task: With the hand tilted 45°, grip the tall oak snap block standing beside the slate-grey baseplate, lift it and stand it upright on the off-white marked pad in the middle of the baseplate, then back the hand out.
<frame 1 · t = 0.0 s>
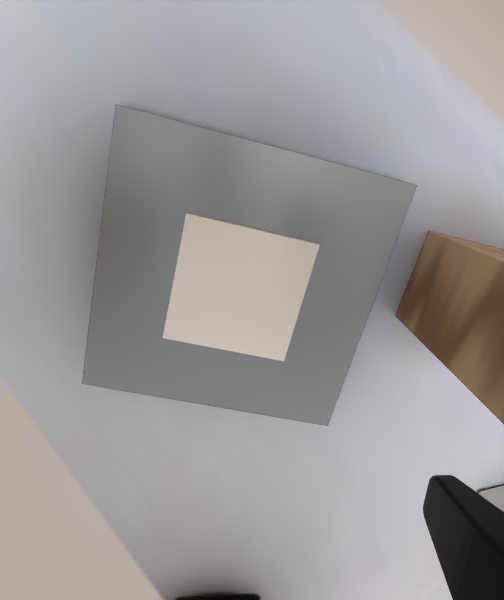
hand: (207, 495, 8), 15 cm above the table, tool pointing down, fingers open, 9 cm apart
oak block: (452, 284, 23), on the table
baseplate: (237, 281, 22), on the table
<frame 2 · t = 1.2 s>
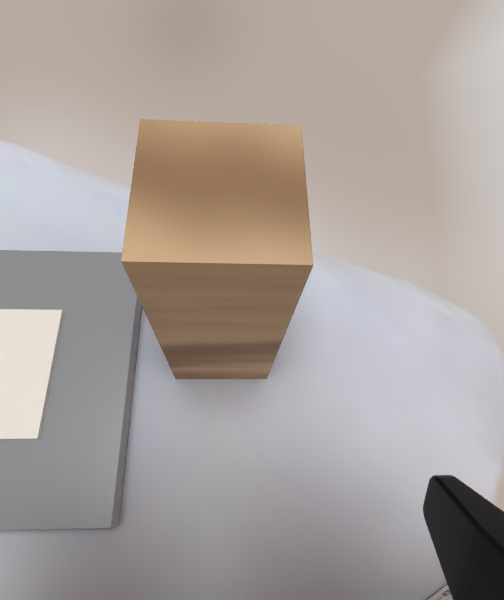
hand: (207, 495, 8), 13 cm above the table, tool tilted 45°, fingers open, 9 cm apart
oak block: (222, 335, 23), on the table
baseplate: (1, 378, 22), on the table
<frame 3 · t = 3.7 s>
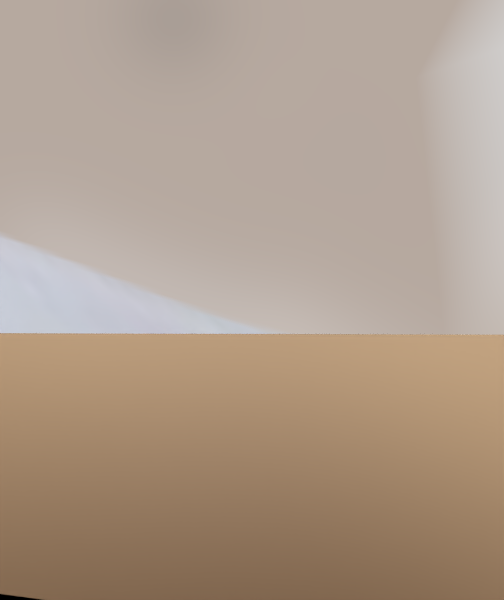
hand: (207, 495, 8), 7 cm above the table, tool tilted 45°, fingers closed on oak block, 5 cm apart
oak block: (212, 538, 13), on the table, touching gripper
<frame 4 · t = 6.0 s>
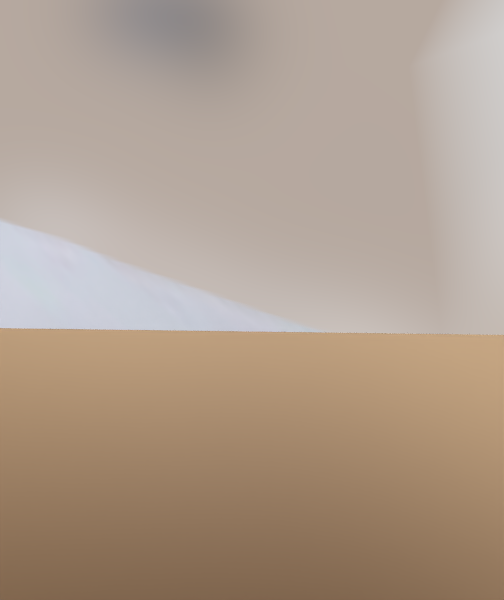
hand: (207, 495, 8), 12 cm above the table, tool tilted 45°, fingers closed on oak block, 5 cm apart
oak block: (216, 537, 13), point 6 cm above the table, touching gripper
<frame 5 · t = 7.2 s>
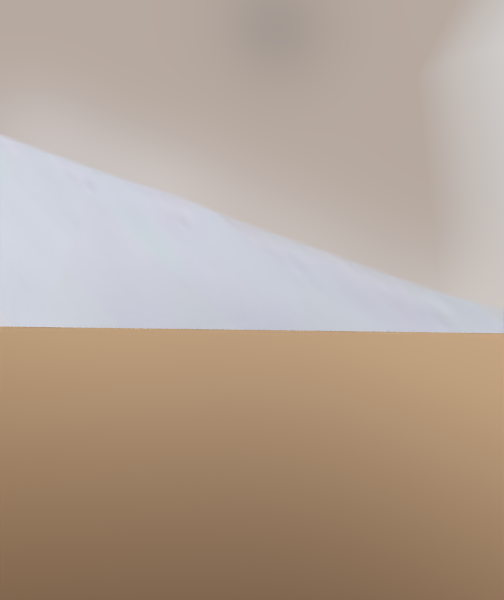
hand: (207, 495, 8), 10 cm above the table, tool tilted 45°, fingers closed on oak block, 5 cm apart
oak block: (215, 536, 13), point 3 cm above the table, touching gripper
when the fingers open (9 cm above the table, at t = 8.0 s): oak block stays where it is, resting on baseplate.
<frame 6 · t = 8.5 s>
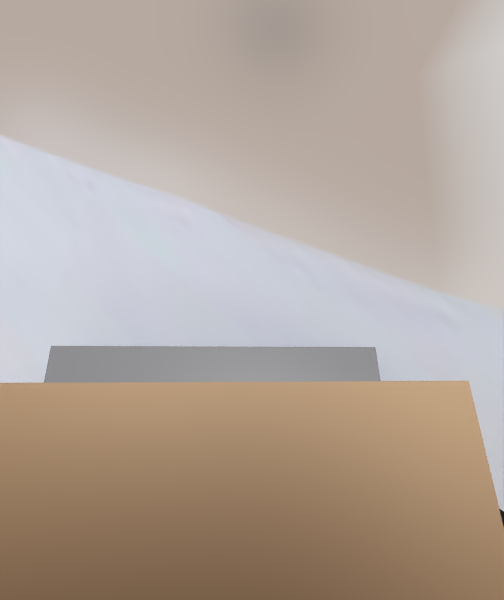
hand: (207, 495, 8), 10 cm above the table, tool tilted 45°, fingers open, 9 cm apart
oak block: (215, 534, 14), point 2 cm above the table, touching baseplate
baseplate: (214, 527, 16), on the table
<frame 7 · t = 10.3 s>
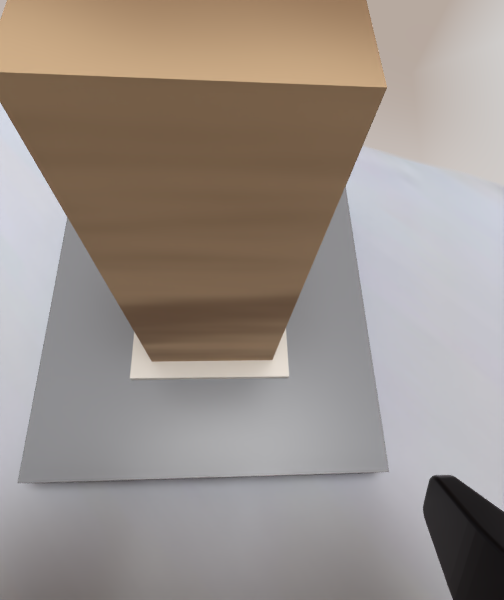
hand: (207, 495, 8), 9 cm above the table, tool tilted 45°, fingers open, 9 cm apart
oak block: (213, 305, 18), point 2 cm above the table, touching baseplate
baseplate: (212, 319, 20), on the table
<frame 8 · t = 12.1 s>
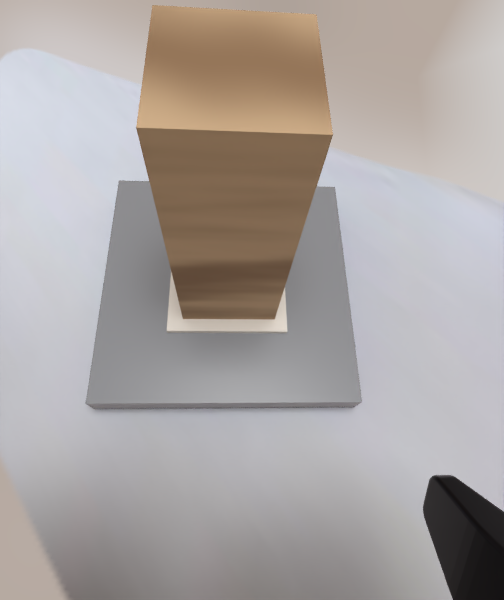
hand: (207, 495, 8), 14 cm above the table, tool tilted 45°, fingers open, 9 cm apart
oak block: (229, 278, 23), point 2 cm above the table, touching baseplate
baseplate: (227, 291, 25), on the table
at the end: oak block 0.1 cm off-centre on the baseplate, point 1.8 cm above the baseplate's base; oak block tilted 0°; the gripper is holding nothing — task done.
